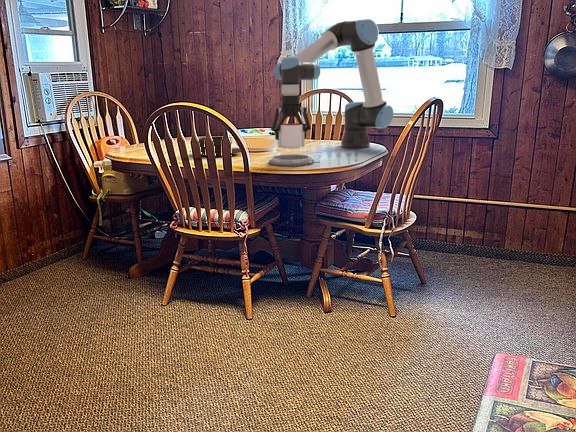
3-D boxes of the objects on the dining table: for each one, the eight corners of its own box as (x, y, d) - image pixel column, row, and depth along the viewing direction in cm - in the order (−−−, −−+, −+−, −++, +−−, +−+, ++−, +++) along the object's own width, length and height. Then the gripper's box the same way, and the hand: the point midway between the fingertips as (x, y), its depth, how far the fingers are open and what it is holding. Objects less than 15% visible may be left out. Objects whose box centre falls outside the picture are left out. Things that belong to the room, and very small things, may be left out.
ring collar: (306, 158, 254) (306, 152, 253) (320, 165, 235) (320, 159, 235) (264, 160, 249) (264, 155, 248) (274, 167, 230) (274, 161, 230)
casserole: (243, 152, 276) (242, 135, 274) (238, 158, 258) (237, 140, 256) (194, 152, 277) (193, 136, 275) (185, 158, 259) (184, 140, 257)
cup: (300, 149, 235) (300, 125, 232) (277, 148, 237) (277, 125, 234) (304, 146, 244) (304, 123, 242) (282, 145, 246) (282, 123, 244)
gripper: (313, 93, 241) (313, 144, 247) (262, 95, 235) (264, 146, 241) (318, 94, 234) (318, 146, 240) (266, 95, 228) (267, 149, 234)
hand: (291, 146), depth 240 cm, fingers closed on cup, 10 cm apart
